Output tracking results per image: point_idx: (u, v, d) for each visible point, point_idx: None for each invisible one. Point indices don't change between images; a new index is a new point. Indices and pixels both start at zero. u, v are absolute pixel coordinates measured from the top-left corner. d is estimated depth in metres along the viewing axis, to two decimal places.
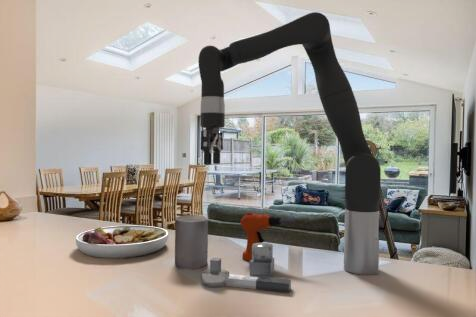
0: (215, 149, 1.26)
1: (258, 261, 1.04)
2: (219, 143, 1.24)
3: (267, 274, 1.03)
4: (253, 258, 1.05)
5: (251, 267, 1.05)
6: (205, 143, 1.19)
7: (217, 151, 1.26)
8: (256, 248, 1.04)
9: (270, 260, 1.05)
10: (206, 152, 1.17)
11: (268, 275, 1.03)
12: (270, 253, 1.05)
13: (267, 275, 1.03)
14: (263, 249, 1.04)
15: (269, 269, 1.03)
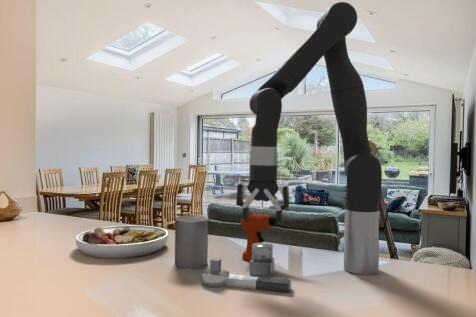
0: None
1: (258, 261, 1.04)
2: None
3: (267, 274, 1.03)
4: (253, 258, 1.05)
5: (251, 267, 1.05)
6: (276, 200, 1.04)
7: (248, 207, 1.08)
8: (256, 248, 1.04)
9: (270, 260, 1.05)
10: None
11: (268, 275, 1.03)
12: (270, 253, 1.05)
13: (267, 275, 1.03)
14: (263, 249, 1.04)
15: (269, 269, 1.03)
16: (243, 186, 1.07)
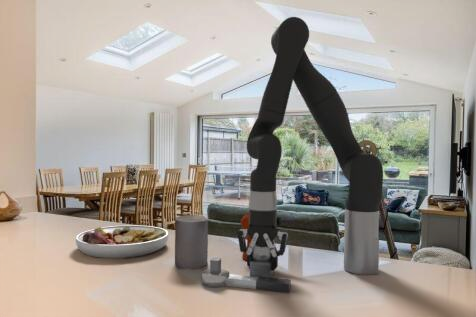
0: None
1: (258, 261, 1.04)
2: None
3: (267, 274, 1.03)
4: (253, 258, 1.05)
5: (251, 267, 1.05)
6: (273, 246, 1.05)
7: None
8: (256, 248, 1.04)
9: (270, 260, 1.05)
10: (277, 256, 1.05)
11: (268, 275, 1.03)
12: (270, 253, 1.05)
13: (267, 275, 1.03)
14: (263, 249, 1.04)
15: (269, 269, 1.03)
16: (243, 232, 1.07)
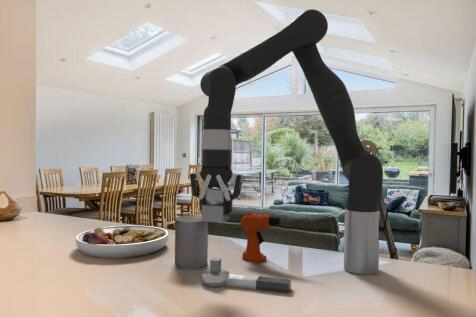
0: None
1: (210, 204, 0.97)
2: None
3: (220, 218, 0.96)
4: (206, 202, 0.98)
5: (203, 211, 0.97)
6: (227, 189, 0.98)
7: None
8: (208, 190, 0.97)
9: (223, 204, 0.98)
10: (232, 200, 0.98)
11: (221, 219, 0.96)
12: (224, 196, 0.98)
13: (219, 219, 0.96)
14: (216, 191, 0.97)
15: (222, 212, 0.96)
16: (196, 175, 1.00)
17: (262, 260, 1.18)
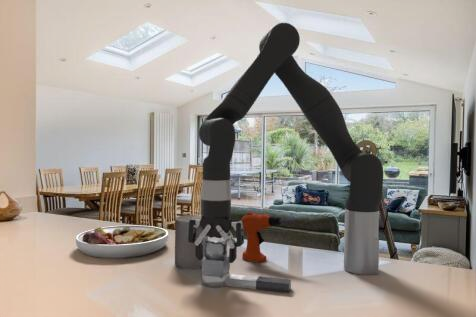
0: None
1: (210, 259, 0.97)
2: None
3: (220, 273, 0.97)
4: (206, 255, 0.98)
5: (203, 265, 0.98)
6: (229, 237, 0.98)
7: (201, 243, 1.01)
8: (208, 245, 0.97)
9: (224, 258, 0.98)
10: (236, 247, 0.98)
11: (221, 274, 0.96)
12: (223, 250, 0.98)
13: (220, 274, 0.97)
14: (216, 246, 0.97)
15: (222, 267, 0.96)
16: (195, 221, 1.00)
17: (262, 260, 1.18)
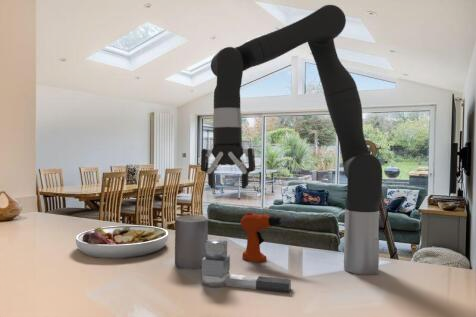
0: None
1: (210, 259, 0.97)
2: None
3: (220, 273, 0.97)
4: (206, 255, 0.98)
5: (203, 265, 0.98)
6: (241, 163, 1.01)
7: (213, 172, 1.04)
8: (208, 245, 0.97)
9: (224, 258, 0.98)
10: (248, 173, 1.01)
11: (221, 274, 0.96)
12: (223, 250, 0.98)
13: (220, 274, 0.97)
14: (216, 246, 0.97)
15: (222, 267, 0.96)
16: (207, 151, 1.04)
17: (262, 260, 1.18)
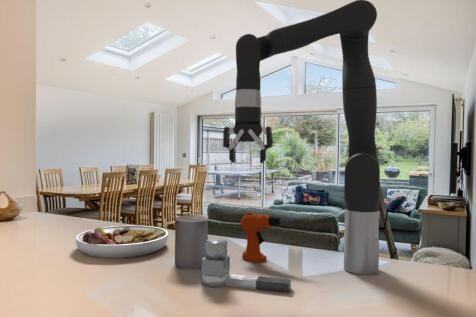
0: None
1: (210, 259, 0.97)
2: None
3: (220, 273, 0.97)
4: (206, 255, 0.98)
5: (203, 265, 0.98)
6: (260, 140, 1.11)
7: (234, 148, 1.15)
8: (208, 245, 0.97)
9: (224, 258, 0.98)
10: None
11: (221, 274, 0.96)
12: (223, 250, 0.98)
13: (220, 274, 0.97)
14: (216, 246, 0.97)
15: (222, 267, 0.96)
16: (229, 129, 1.14)
17: (262, 260, 1.18)
